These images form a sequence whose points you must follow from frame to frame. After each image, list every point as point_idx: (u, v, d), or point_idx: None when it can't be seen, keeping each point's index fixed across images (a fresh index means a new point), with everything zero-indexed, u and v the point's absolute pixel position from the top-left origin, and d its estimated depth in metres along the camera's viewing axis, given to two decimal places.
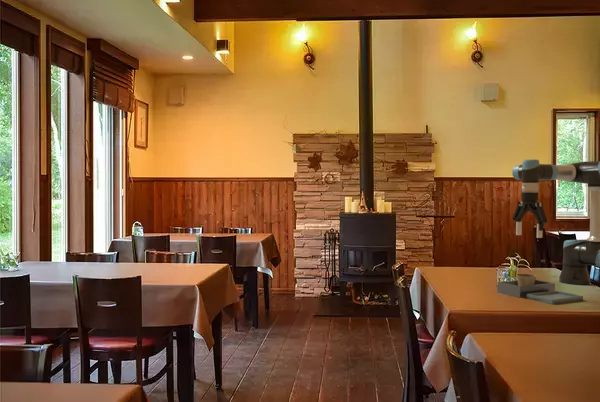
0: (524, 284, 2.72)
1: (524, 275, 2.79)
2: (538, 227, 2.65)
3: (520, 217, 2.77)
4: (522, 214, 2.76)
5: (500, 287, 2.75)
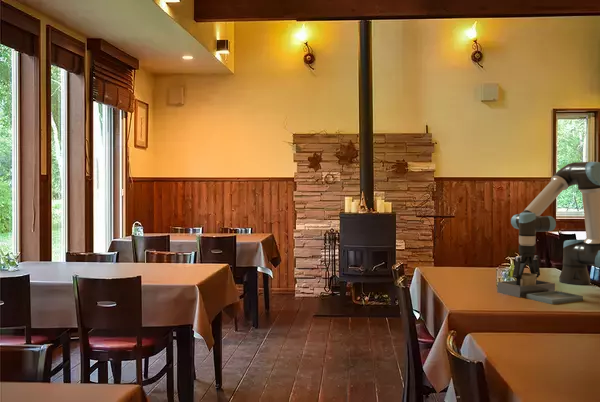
0: (524, 283, 2.72)
1: (524, 274, 2.79)
2: None
3: (532, 271, 2.77)
4: (530, 268, 2.77)
5: (500, 287, 2.75)
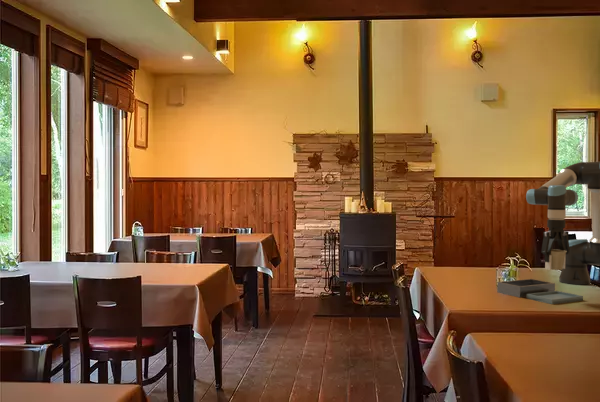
0: (553, 259, 2.57)
1: (553, 251, 2.64)
2: None
3: (561, 248, 2.62)
4: (559, 244, 2.61)
5: (500, 287, 2.75)
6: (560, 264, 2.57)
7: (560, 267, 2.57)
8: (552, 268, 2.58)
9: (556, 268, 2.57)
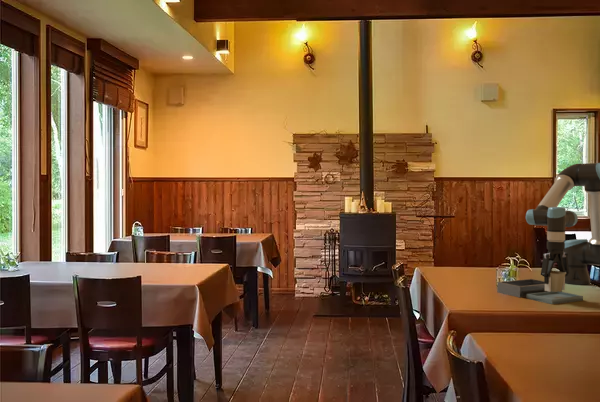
0: (553, 281, 2.57)
1: (552, 272, 2.64)
2: None
3: (560, 269, 2.62)
4: (559, 265, 2.62)
5: (500, 287, 2.75)
6: (560, 286, 2.57)
7: (559, 289, 2.58)
8: (551, 290, 2.58)
9: (555, 290, 2.57)
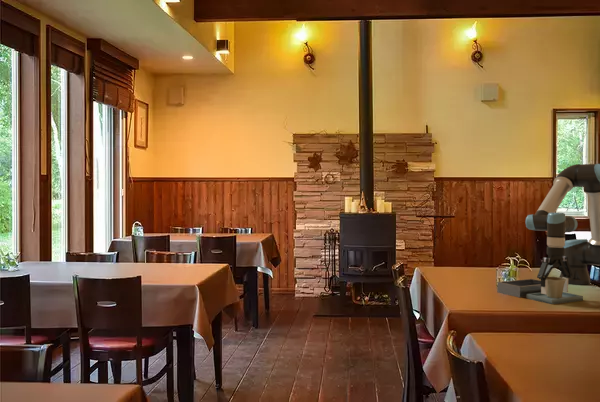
0: (553, 288, 2.57)
1: (552, 278, 2.64)
2: None
3: (563, 273, 2.63)
4: (561, 269, 2.62)
5: (500, 287, 2.75)
6: (560, 293, 2.57)
7: (559, 295, 2.58)
8: (551, 296, 2.58)
9: (555, 296, 2.58)
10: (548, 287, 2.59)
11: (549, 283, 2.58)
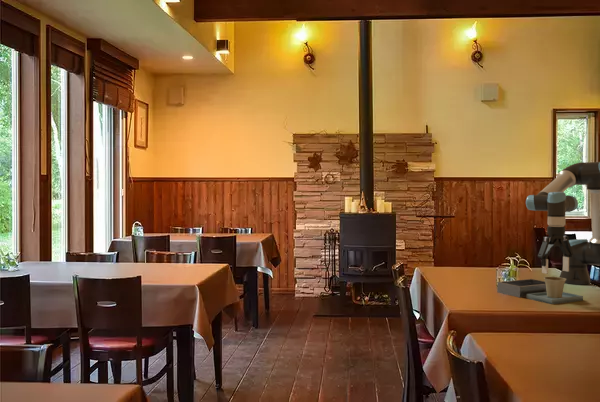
0: (553, 288, 2.57)
1: (552, 278, 2.64)
2: None
3: (564, 252, 2.63)
4: (562, 249, 2.62)
5: (500, 287, 2.75)
6: (560, 293, 2.57)
7: (559, 295, 2.58)
8: (551, 296, 2.58)
9: (555, 296, 2.58)
10: (548, 287, 2.59)
11: (549, 283, 2.58)
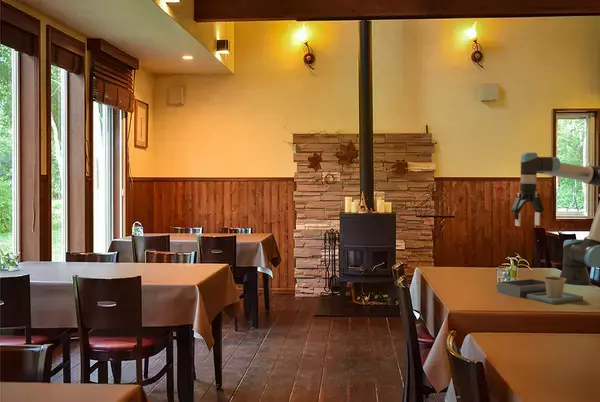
0: (553, 288, 2.57)
1: (552, 278, 2.64)
2: None
3: (535, 208, 2.89)
4: (533, 205, 2.89)
5: (500, 287, 2.75)
6: (560, 293, 2.57)
7: (559, 295, 2.58)
8: (551, 296, 2.58)
9: (555, 296, 2.58)
10: (548, 287, 2.59)
11: (549, 283, 2.58)
